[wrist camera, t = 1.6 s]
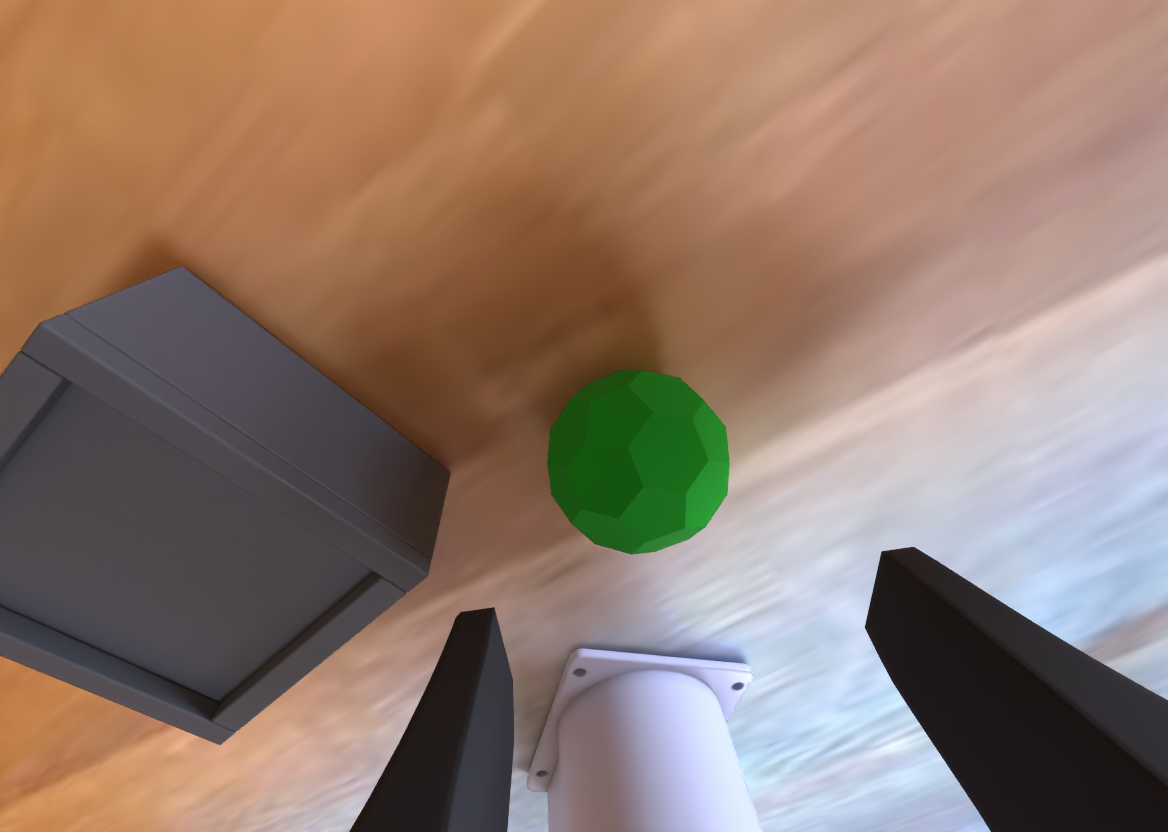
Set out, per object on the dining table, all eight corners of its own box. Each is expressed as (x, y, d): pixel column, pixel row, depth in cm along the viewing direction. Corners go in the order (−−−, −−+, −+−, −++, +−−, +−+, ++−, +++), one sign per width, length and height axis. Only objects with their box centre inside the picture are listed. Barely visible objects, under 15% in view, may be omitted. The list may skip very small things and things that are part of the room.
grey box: (451, 472, 17) (429, 576, 13) (282, 619, 20) (219, 746, 16) (181, 264, 14) (38, 321, 10) (12, 474, 16) (-162, 591, 12)
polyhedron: (537, 353, 16) (541, 435, 12) (703, 336, 16) (766, 410, 12) (553, 492, 18) (562, 601, 14) (697, 476, 18) (748, 579, 14)
